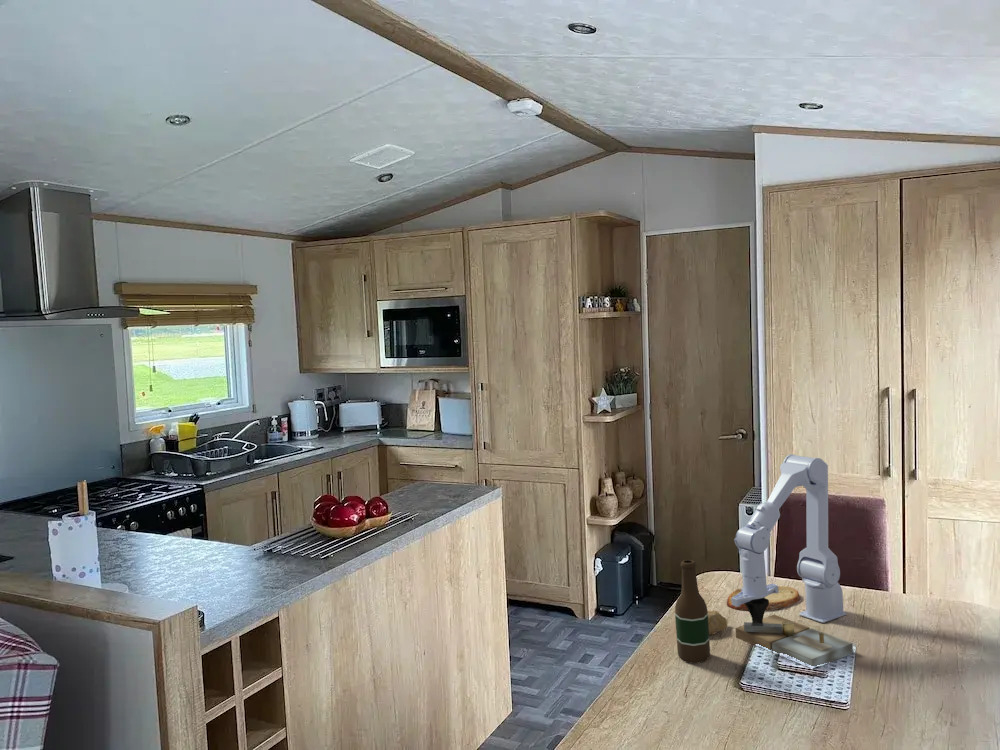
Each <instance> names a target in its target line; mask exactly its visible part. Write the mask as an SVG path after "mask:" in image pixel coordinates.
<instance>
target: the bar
mask: <svg viewBox="0 0 1000 750" xmlns="http://www.w3.org/2000/svg"><path fill="white" fill-rule="evenodd" d="M793 622H794V621H793ZM793 622H789V621H785V622H782V624H770V623H751V621H750V622H745V621H744V623H743V625H744V631H745V632H764V633H782V631H783V635H786V636H793V635H794V634H795V633H794V623H793Z"/></svg>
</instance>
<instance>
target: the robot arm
mask: <svg viewBox="0 0 1000 750" xmlns="http://www.w3.org/2000/svg"><path fill="white" fill-rule="evenodd" d="M779 467H780V468H779V469H780V476H779V477H778V480H777V481H776V483H775V486H774V488H773V489H772V491H771V493H770V496H769V497H768V499H767V500H766V501H765V502H760V503H759V505H757V507H756V510H755V511H754V513H753V514H752V515H751V517H750V519H749V520H748V522H747V523H746V525H745V526H743V527H741V528H739V529H738V530H737V532H736V534H735V538H734V539H733V540H734V544H735V546H736V547H737V550H738V554H739V555H740V560H741V561H740V562H741V574H742V587H741V588H740V589H741V592H740V593H739V594H737V595H736V596H734V597H732V598H731V599H732V605H734V606H736V607H739V606H740V605H741V604H745V605H746V607H747V608H748V610H749V611H748V612H749V615H750V616H751V621H752V622H753V623H763V618H764V615H765V612H766V611H765V610H766V608H767V606H768V604H769V600H768V599H765V597H766V596H768V595H770V594H772V593H779V589H778V586H779V585H778V584H775V583H770V584H767V571H766V570H767V569H766V559H765V558H766V556H765V551H766V550H767V549H768V548H769V544H770V538H771V531H772V530H773V528H774V527H775V525H776V523H777V522H778V520H779V519H780V517H781V513H780V508H781V507H782V506H783V505H784V503H785V502H786V500H787V499H788V498H789V497H790V495H791V494H792V492H793V491H795V490H794V489H796V488H797V487H803V488H805V490H806V492H805V493H806V496H805V497H806V498H805V500H806V501H805V502H806V506H805V507H806V511H805V513H806V547H804V548H803V549H802V550H801V551H800V552H799V557H798V561H797V563H796V564H797V565H796V571H797V574H798V576H799V577H800V578H801V582H803V583H804V592H805V593H804V594H805V595H804V596H805V610H804V611H801V612H799V613H798V614H799V616H801V617H804V618H807V619H810V620H812V621H815V622H817V623H823V624H824V623H828V622H830V621H833V620H836V619H839V618H841V617H843V616H844V617H845V616H847V612H845V610H844V593H843V589H842V588H843V587H842V586H841V585H840V583H839V580H840V578H841V569H840V566H839V562H838V556H837V555H836V554H835V553H834V552H833V551H832V550H831V549H830V548H829V472H828V471H829V465H828V464H827V462H825V461H824V460H823V459H822V458H820V457H809V456H802V455H796V454H793V453H791V454H788V455H786V456H785V458H784V460H783V462H782V463H781V464H780V466H779Z"/></svg>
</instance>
